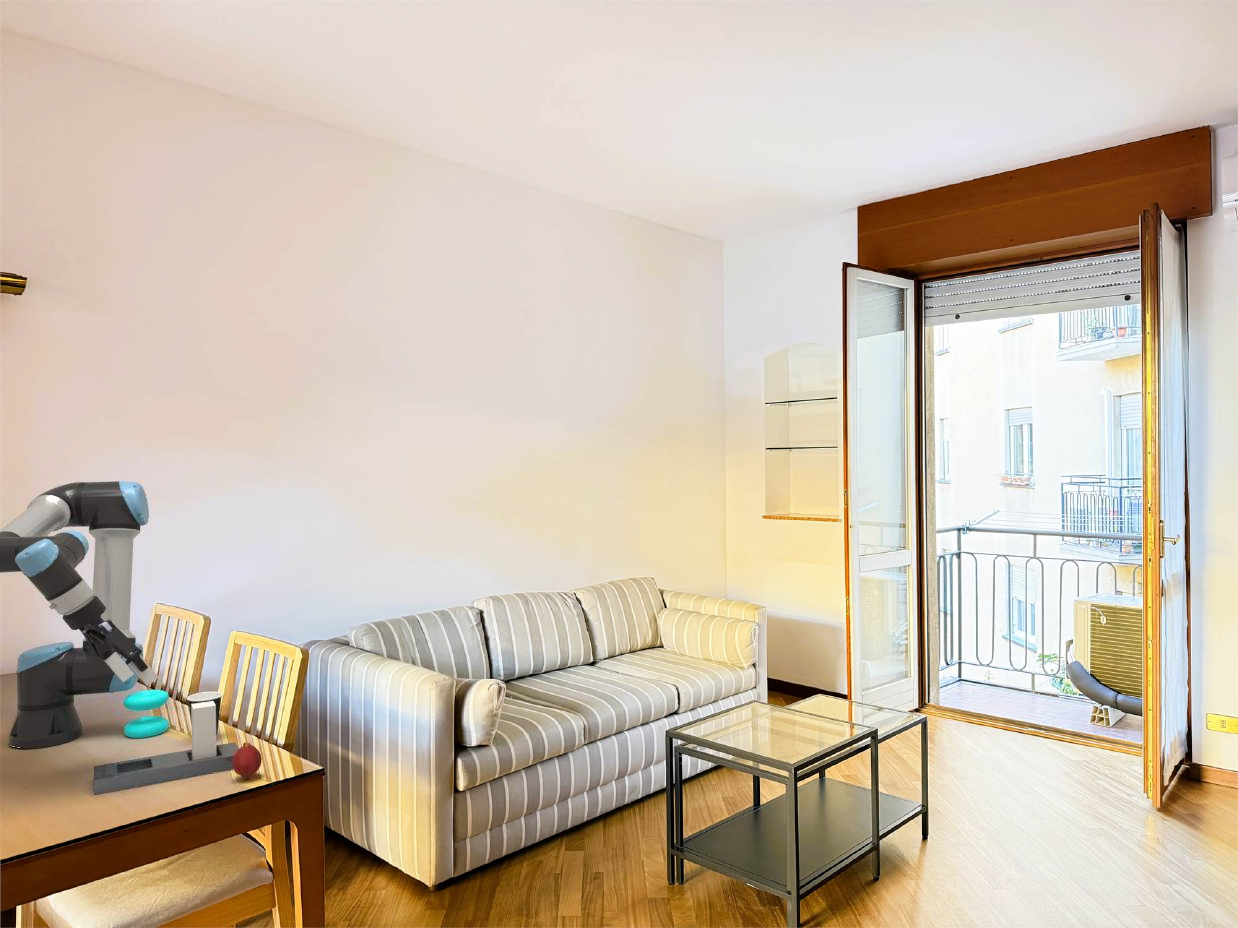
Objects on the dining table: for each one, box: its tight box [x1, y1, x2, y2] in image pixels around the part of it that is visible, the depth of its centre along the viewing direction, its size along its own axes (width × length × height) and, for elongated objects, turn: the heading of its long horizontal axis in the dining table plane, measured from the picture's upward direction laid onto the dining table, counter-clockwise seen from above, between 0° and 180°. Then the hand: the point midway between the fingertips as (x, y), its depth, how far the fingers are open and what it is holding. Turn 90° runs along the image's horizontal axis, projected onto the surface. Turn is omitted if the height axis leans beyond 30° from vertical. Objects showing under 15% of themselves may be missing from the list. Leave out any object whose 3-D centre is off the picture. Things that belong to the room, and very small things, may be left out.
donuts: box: [123, 689, 170, 739], centre depth 214 cm, size 10×10×10 cm
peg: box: [190, 701, 217, 760], centre depth 189 cm, size 4×4×14 cm
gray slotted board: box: [93, 741, 240, 796], centre depth 185 cm, size 28×10×3 cm, turn 122°
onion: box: [232, 741, 263, 780], centre depth 181 cm, size 6×6×8 cm
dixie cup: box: [186, 691, 223, 737], centre depth 208 cm, size 8×8×11 cm
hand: (140, 679), depth 187 cm, fingers open, 13 cm apart
